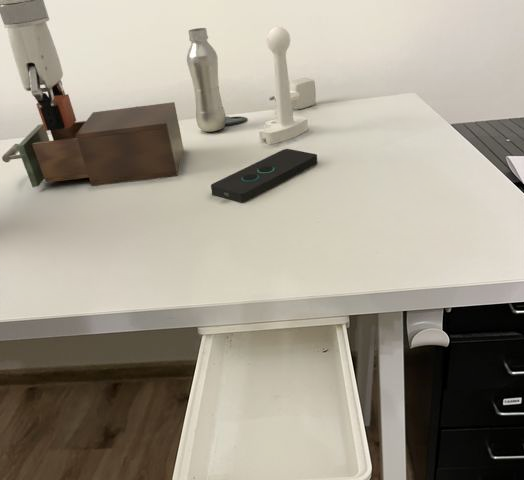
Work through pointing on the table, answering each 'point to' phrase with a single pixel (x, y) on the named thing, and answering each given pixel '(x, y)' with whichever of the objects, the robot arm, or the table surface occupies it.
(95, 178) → the cabinet
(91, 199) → the table surface
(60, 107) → the block
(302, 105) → the power adapter
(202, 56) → the metal water bottle
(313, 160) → the smart home device
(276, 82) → the joystick
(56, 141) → the drawer
